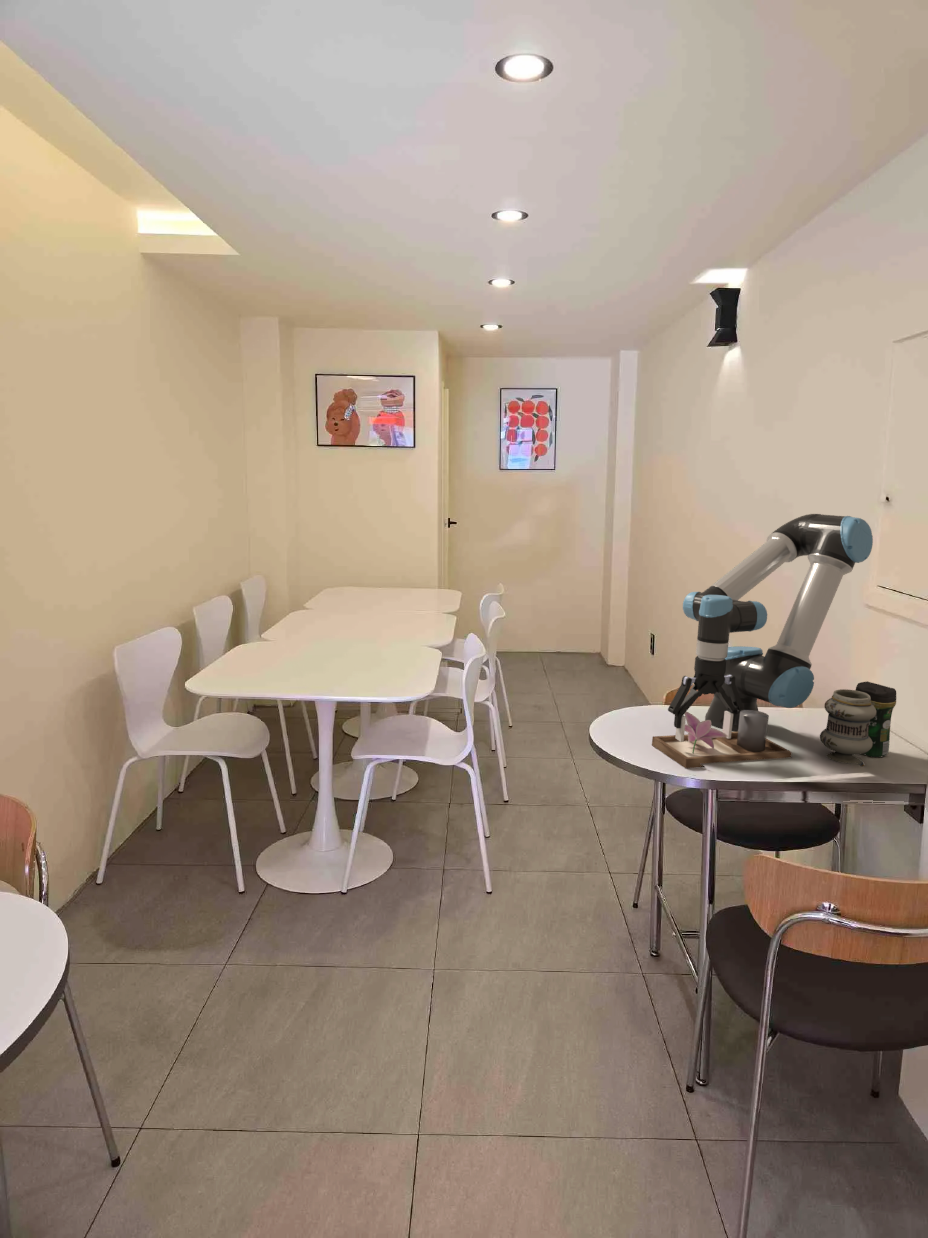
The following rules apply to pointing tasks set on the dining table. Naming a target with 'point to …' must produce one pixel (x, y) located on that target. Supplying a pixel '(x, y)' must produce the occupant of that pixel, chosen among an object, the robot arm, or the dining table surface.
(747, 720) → the grey rounded cylinder
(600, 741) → the dining table surface
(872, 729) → the coffee jar
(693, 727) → the lily
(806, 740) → the dining table surface
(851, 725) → the apothecary jar
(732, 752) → the tray
